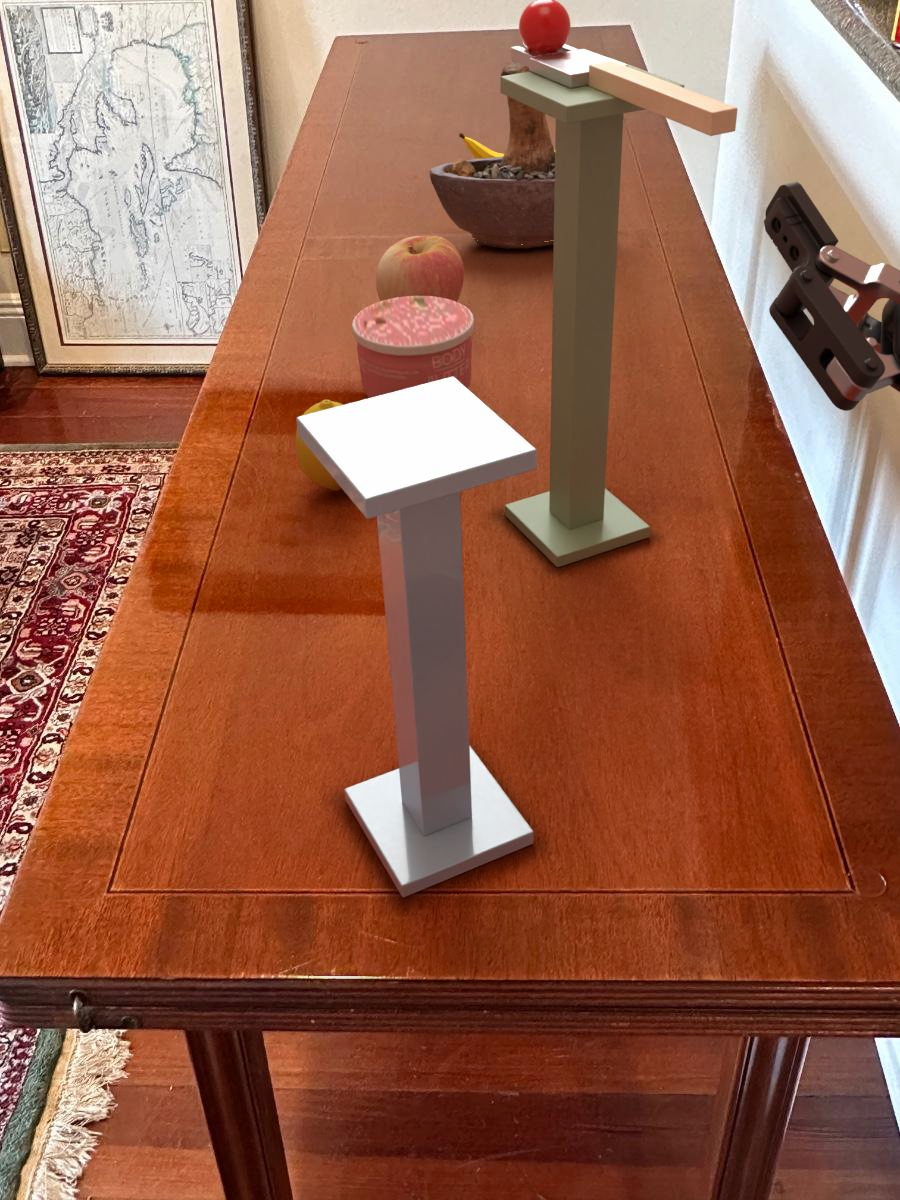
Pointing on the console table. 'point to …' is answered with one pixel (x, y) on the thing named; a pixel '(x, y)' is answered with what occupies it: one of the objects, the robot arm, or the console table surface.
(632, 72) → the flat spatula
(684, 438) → the console table surface
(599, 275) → the tall stand
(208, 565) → the console table surface
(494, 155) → the banana
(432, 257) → the apple
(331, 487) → the lemon
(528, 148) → the planter
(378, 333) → the container
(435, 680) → the low stand
